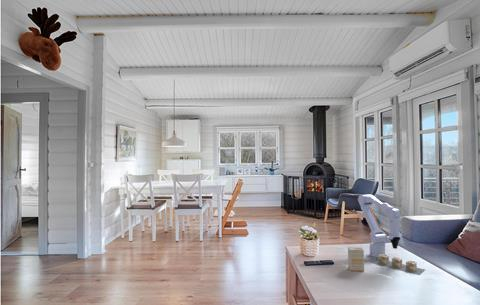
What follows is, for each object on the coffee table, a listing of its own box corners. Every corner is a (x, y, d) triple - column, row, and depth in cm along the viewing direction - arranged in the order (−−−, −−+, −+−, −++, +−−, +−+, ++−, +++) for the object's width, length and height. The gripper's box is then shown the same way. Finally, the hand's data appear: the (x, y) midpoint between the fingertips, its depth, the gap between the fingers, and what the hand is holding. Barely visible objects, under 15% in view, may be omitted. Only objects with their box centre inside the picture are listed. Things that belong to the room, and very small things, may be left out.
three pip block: (405, 269, 174) (405, 261, 174) (408, 267, 177) (408, 259, 177) (414, 271, 170) (414, 263, 171) (416, 269, 174) (416, 261, 174)
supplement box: (361, 268, 178) (361, 247, 178) (364, 271, 173) (363, 249, 173) (348, 268, 178) (347, 247, 179) (350, 271, 174) (349, 249, 174)
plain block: (391, 265, 180) (391, 258, 180) (394, 264, 183) (394, 257, 183) (399, 267, 176) (399, 260, 177) (402, 266, 179) (402, 258, 180)
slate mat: (370, 263, 186) (370, 262, 186) (378, 259, 194) (378, 258, 194) (419, 276, 165) (419, 275, 165) (425, 270, 173) (425, 269, 173)
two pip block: (378, 262, 186) (378, 255, 186) (381, 260, 189) (381, 253, 189) (386, 264, 182) (385, 257, 182) (388, 262, 185) (388, 255, 185)
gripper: (397, 230, 180) (397, 252, 179) (405, 226, 189) (405, 247, 189) (385, 228, 185) (385, 249, 184) (393, 224, 195) (394, 244, 194)
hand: (395, 248), depth 187 cm, fingers closed
